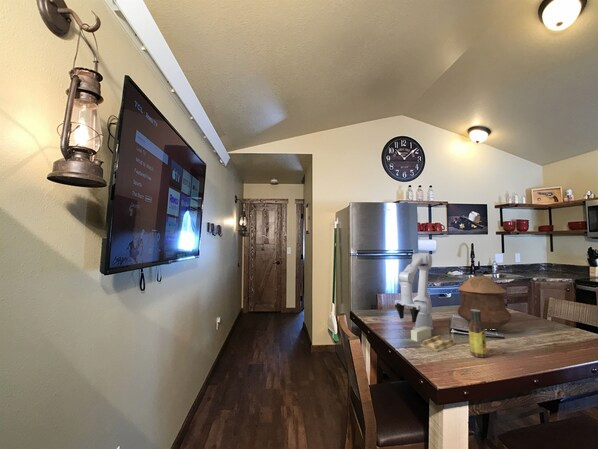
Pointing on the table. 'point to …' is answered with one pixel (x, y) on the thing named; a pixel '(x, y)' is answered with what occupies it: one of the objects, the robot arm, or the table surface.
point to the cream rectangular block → (420, 333)
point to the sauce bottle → (477, 335)
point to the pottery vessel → (484, 302)
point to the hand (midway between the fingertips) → (407, 320)
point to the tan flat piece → (437, 343)
